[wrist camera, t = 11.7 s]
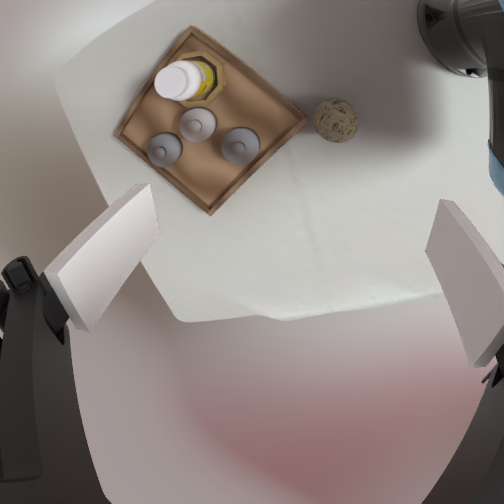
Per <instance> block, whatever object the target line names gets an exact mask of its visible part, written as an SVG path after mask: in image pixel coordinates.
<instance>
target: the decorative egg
mask: <svg viewBox="0 0 504 504" xmlns="http://www.w3.org/2000/svg"><path fill="white" fill-rule="evenodd" d="M313 124H314V127H315V129H316V131H317V132H318V134H319V135H320V136H321V137H322V138H324V139H325V140H327V141H330V142H334V143H342V142H345V141H348V140H349V139H351V138H352V137H353V136H354V134H355V133H356V131H357V127H358V118H357V115H356V112H355V110H354V109H353V108H352V106H351V105H350V104H348V103H347V102H345V101H343V100H341V99H336V98H331V99H326V100H324V101H322V102H321V103H319V104H318V105H317V107H316V108H315V110H314V113H313Z"/></svg>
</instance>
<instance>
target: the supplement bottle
mask: <svg viewBox="0 0 504 504" xmlns="http://www.w3.org/2000/svg"><path fill="white" fill-rule="evenodd" d="M214 81H215V74H214V71H213V69H212V68H211V67H210V66H209V65H208V64H207V63H205V62H201V61H176V62H173V63H171V64H169V65H168V66H167V67H165V68H163V69H162V70H160V71H159V73H158V74H157V75H156V78H155V82H154V85H155V89H156V91H157V93H158V94H159V95H160V96H162V97H164V98H169V99H172V100H176V101H181V100H186V99H189V98H193V97H196V96H200V95H203V94H205V93H207V92H208V91H209V90H210V89H211V88H212V86H213V84H214Z"/></svg>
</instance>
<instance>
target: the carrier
mask: <svg viewBox="0 0 504 504" xmlns="http://www.w3.org/2000/svg"><path fill="white" fill-rule="evenodd" d="M176 61H201V62H205V63H207V64H208V65H209V66H210V67H211V68H212V69H213V71H214V74H215V81H214V84H213V86H212V88H211V89H210V90H209V91H208V92H207V93H205V94H203V95H200V96H196V97H193V98H189V99H186V100H181V101H176V100H172V99H169V98H164V97H162V96H160V95H159V94H158V93H157V91H156V89H155V85H154V82H155V78H156V75H157V74H158V73H159V71H160V70H162V69H163V68H165V67H167V66H168V65H169V64H171V63H173V62H176ZM307 123H308V118H307V117H306V116H304V115H303V114H302V113H301V112H300V111H299V110H298V109H297V108H296V107H295V106H294V105H293V104H292V103H291V102H290V101H289V100H288V99H287V98H285V97H284V96H283V95H282V94H281V93H280V92H279V91H278V90H277V89H275V88H274V87H273V86H272V85H271V84H270V83H269V82H267V81H266V80H265V79H264V78H263V77H262V76H260V75H259V74H258V73H257V72H256V71H254V70H253V69H252V68H251V67H249V66H248V65H247V64H246V63H244V62H243V61H242V60H241V59H239V58H238V57H237V56H236V55H234V54H233V53H232V52H230V51H229V50H228V49H226V48H225V47H224V46H222V45H221V44H220V43H218V42H217V41H215V40H214V39H213V38H211V37H210V36H208V35H207V34H206V33H204V32H203V31H201V30H200V29H198V28H197V27H194V26H191V25H190V27H189V28H188V29H187V30H186V31H185V32H184V34H183V35H182V36H181V37H180V38H179V40H178V41H177V42H176V43H175V45H174V46H173V47H172V48H171V50H170V51H169V52H168V54H167V55H166V56H165V58H164V59H163V60H162V62H161V63H160V64H159V66H158V67H157V68H156V70H155V71H154V73H153V74H152V75H151V77H150V78H149V80H148V81H147V83H146V84H145V86H144V87H143V89H142V90H141V92H140V93H139V95H138V96H137V98H136V99H135V101H134V103H133V104H132V106H131V107H130V109H129V111H128V112H127V114H126V116H125V117H124V119H123V121H122V122H121V124H120V126H119V128H118V129H117V131H116V133H115V135H114V136H116V137H117V138H118V139H119V140H120V141H121V142H123V143H124V144H125V145H126V146H127V147H129V148H130V149H131V150H132V151H133V152H135V153H136V154H137V155H138V156H139V157H140V158H142V159H143V160H144V161H145V162H146V163H148V164H149V165H150V166H151V167H152V168H154V169H155V170H156V171H157V172H158V173H159V174H161V175H162V176H163V177H164V178H165V179H167V180H168V181H169V182H170V183H171V184H173V185H174V186H175V187H176V188H177V189H178V190H180V191H181V192H182V193H183V194H184V195H186V196H187V197H188V198H189V199H190V200H192V201H193V202H194V203H195V204H196V205H197V206H199V207H200V208H201V209H202V210H203V211H205V212H206V213H207V214H208V215H209V216H212V215H213V214H214V213H215V211H216V210H217V209H218V208H219V207H220V206H221V205H222V204H223V203H224V202H225V201H226V200H227V199H228V198H229V197H230V196H231V195H232V194H233V193H234V192H235V191H236V190H237V189H238V188H239V187H240V186H241V185H242V184H243V183H244V182H245V181H246V180H247V179H248V178H249V177H250V176H251V175H252V174H253V173H254V172H256V171H257V170H258V169H259V168H260V167H261V166H262V165H263V164H264V163H265V162H266V161H267V160H268V159H269V158H270V157H271V156H272V155H273V154H274V153H275V152H276V151H277V150H279V149H280V148H281V147H282V146H283V145H284V144H285V143H286V142H287V141H288V140H289V139H290V138H291V137H292V136H294V135H295V134H296V133H297V132H298V131H299V130H300V129H301V128H302V127H303V126H304V125H306V124H307Z"/></svg>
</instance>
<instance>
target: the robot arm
mask: <svg viewBox="0 0 504 504" xmlns="http://www.w3.org/2000/svg"><path fill="white" fill-rule="evenodd" d="M417 20H418V26H419V30H420V33H421V35H422V38H423V40H424V42H425V44H426V45H427V47H428V49H429V50H430V51H431V53H432V54H433V55H434V56H435V58H436V59H437V60H438V61H439V62H440V63H441V64H443V65H444V66H445V67H446V68H448V69H449V70H451V71H453V72H454V73H456V74H459V75H462V76H466V77H472V78H482V77H487V76H488V85H489V106H490V130H489V140H488V148H489V173H490V177H491V179H492V181H493V182H494V185H495V187H496V188H497V189H498V191H499V192H500V193H501V194H502V195H503V196H504V0H421V1H420V3H419V6H418V10H417ZM160 234H161V233H160V229H159V225H158V221H157V216H156V212H155V207H154V203H153V198H152V194H151V189H150V184H136V185H135V186H133V187H132V188H131V189H130V190H128V191H127V192H126V193H125V194H124V195H122V196H121V197H120V198H119V199H118V200H117V201H115V202H114V203H113V204H112V205H111V206H110V207H108V208H107V209H106V210H105V211H104V212H103V213H102V214H101V215H100V216H99V217H97V218H96V219H95V220H94V221H93V222H92V223H91V224H90V225H89V226H88V227H87V228H85V229H84V230H83V231H82V232H81V233H80V234H79V235H78V236H77V237H76V238H75V239H74V240H73V241H72V242H71V243H70V244H69V245H68V246H67V247H66V248H65V249H64V250H63V251H62V252H61V253H60V254H59V255H58V256H57V257H56V258H55V259H54V260H53V261H52V262H51V263H50V265H49V266H48V267H47V268H46V269H45V270H44V271H43V272H42V273H41V275H40V276H39V277H38V275H37V273H36V272H35V270H34V268H33V266H32V264H31V262H30V259H29V258H28V257H27V256H21V257H18V258H16V259H14V260H12V261H11V262H10V263H9V264H7V266H6V267H5V268H4V269H3V271H2V273H1V274H2V276H3V278H4V280H5V281H6V283H7V285H8V287H9V288H10V290H7V288H6V286H5V285H4V283H3V281H1V280H0V329H1V330H2V332H3V333H4V334H3V339H1V337H0V504H111V502H109V500H108V499H107V498H106V497H105V495H104V493H103V491H102V488H101V486H100V483H99V480H98V477H97V474H96V471H95V468H94V465H93V461H92V458H91V455H90V451H89V447H88V444H87V440H86V436H85V432H84V428H83V424H82V419H81V415H80V410H79V404H78V399H77V393H76V387H75V381H74V374H73V366H72V359H71V349H70V336H69V329H68V326H67V325H66V321H67V320H68V319H69V318H70V319H71V321H72V322H73V324H74V326H75V327H76V328H77V329H80V330H83V331H87V332H89V333H90V332H91V331H92V330H93V328H94V326H95V325H96V323H97V322H98V320H99V319H100V317H101V316H102V314H103V313H104V311H105V310H106V308H107V307H108V305H109V304H110V302H111V300H112V299H113V298H114V296H115V295H116V293H117V292H118V290H119V289H120V288H121V286H122V285H123V283H124V282H125V281H126V279H127V278H128V276H129V275H130V274H131V272H132V271H133V270H134V268H135V267H136V265H137V264H138V263H139V261H140V260H141V259H142V257H143V256H144V255H145V253H146V252H147V251H148V249H149V248H150V247H151V245H152V244H153V243H154V241H155V240H156V239H157V238H158V236H159V235H160ZM425 252H426V254H427V256H428V258H429V260H430V262H431V264H432V266H433V269H434V271H435V273H436V275H437V277H438V280H439V282H440V284H441V287H442V289H443V291H444V294H445V296H446V299H447V300H448V304H449V306H450V309H451V311H452V314H453V317H454V319H455V322H456V324H457V328H458V330H459V333H460V336H461V339H462V342H463V345H464V348H465V352H466V355H467V358H468V362H469V365H470V368H478V367H485V366H486V365H487V364H488V363H489V362H490V361H491V359H492V358H493V357H494V356H496V359H497V362H498V363H497V364H496V365H495V366H494V368H493V369H492V370H491V371H490V372H489V373H488V374H487V375H486V376H485V378H484V379H483V380H482V383H484V382H485V381H486V380H487V379H489V381H488V384H487V385H486V389H485V391H484V394H483V396H482V399H481V401H480V404H479V406H478V408H477V411H476V413H475V415H474V417H473V419H472V422H471V424H470V426H469V428H468V430H467V432H466V434H465V436H464V438H463V440H462V441H461V443H460V445H459V447H458V449H457V450H456V452H455V454H454V456H453V458H452V459H451V461H450V462H449V464H448V466H447V467H446V469H445V471H444V472H443V474H442V475H441V477H440V478H439V480H438V482H437V483H436V484H435V486H434V487H433V489H432V490H431V492H430V493H429V494H428V496H427V497H426V498H425V500H424V501H423V502H422V504H504V265H503V264H502V263H501V262H500V261H499V260H498V258H497V257H496V255H495V254H494V252H493V251H492V249H491V248H490V247H489V245H488V244H487V242H486V241H485V240H484V238H483V237H482V236H481V234H480V233H479V232H478V230H477V229H476V228H475V227H474V225H473V224H472V223H471V222H470V220H469V219H468V218H467V217H466V215H465V214H464V213H463V212H462V211H461V209H460V208H459V207H458V206H457V205H456V204H455V202H454V201H449V200H443V199H440V201H439V205H438V209H437V212H436V216H435V220H434V223H433V227H432V230H431V234H430V237H429V240H428V243H427V246H426V250H425Z"/></svg>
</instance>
